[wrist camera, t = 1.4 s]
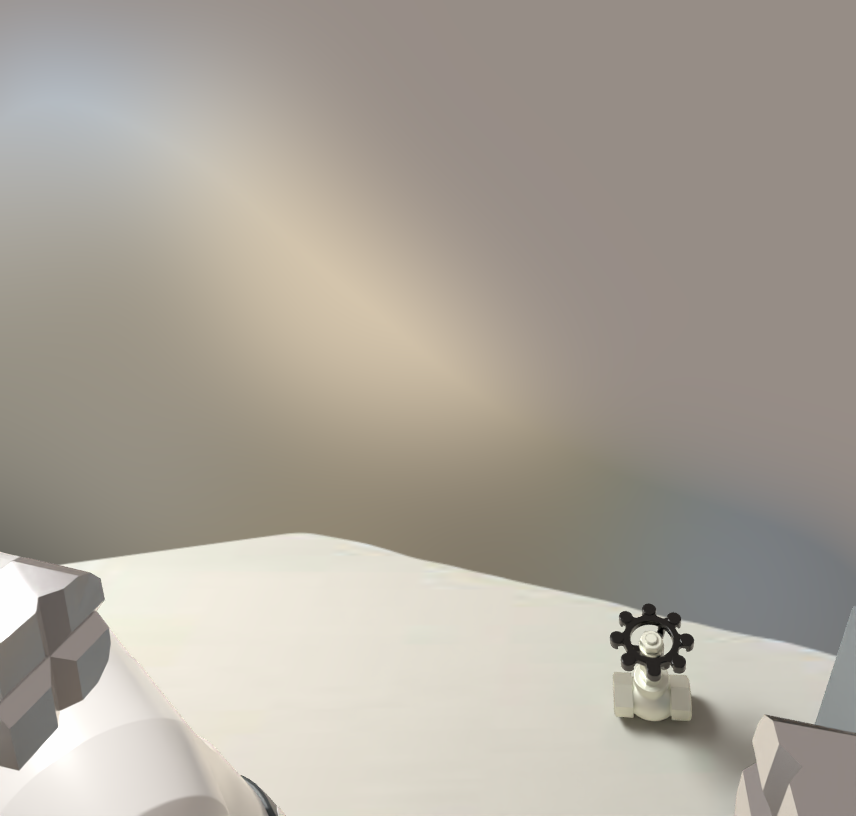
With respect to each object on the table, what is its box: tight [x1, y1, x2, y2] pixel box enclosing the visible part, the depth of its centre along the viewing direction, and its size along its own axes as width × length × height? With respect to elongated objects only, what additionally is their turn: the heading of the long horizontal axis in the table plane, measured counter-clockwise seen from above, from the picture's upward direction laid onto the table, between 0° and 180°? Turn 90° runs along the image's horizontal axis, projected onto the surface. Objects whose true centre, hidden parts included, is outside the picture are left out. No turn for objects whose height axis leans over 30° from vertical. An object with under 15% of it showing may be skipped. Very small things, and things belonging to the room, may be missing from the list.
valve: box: [610, 604, 694, 721], centre depth 63 cm, size 7×7×12 cm
